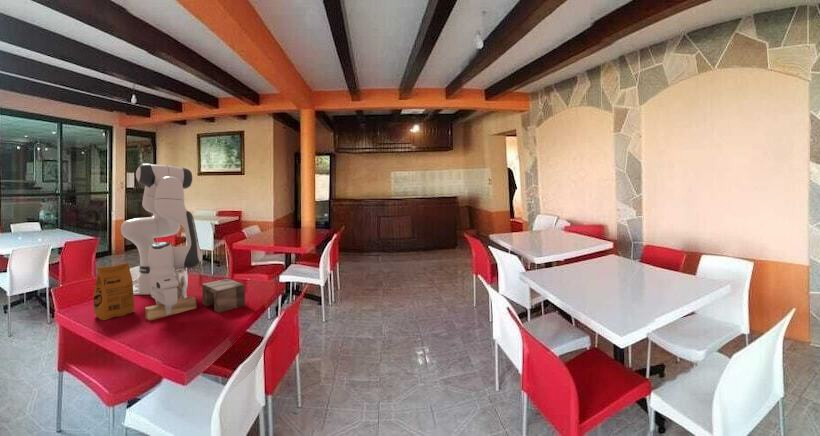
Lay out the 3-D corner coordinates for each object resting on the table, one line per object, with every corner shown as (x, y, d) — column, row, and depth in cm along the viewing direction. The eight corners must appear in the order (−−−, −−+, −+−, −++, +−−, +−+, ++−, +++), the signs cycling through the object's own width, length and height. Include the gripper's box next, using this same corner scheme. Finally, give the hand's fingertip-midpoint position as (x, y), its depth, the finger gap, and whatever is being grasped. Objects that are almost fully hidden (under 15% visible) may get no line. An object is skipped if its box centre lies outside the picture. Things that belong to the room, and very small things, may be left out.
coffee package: (92, 316, 144) (88, 266, 142) (128, 307, 155) (125, 260, 153) (100, 322, 139) (96, 269, 137) (137, 312, 150) (134, 263, 147)
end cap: (202, 304, 161) (202, 283, 160) (228, 297, 171) (228, 278, 170) (218, 312, 152) (217, 290, 151) (245, 305, 161) (244, 284, 160)
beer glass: (180, 304, 161) (178, 273, 159) (167, 302, 162) (166, 272, 161) (192, 299, 168) (190, 269, 166) (180, 298, 169) (178, 268, 167)
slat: (145, 318, 144) (145, 307, 143) (192, 306, 159) (191, 296, 158) (149, 321, 142) (148, 309, 141) (196, 308, 157) (195, 298, 156)
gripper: (145, 277, 150) (147, 307, 151) (162, 286, 138) (163, 319, 139) (162, 274, 155) (163, 303, 156) (179, 283, 143) (181, 314, 144)
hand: (163, 311), depth 148 cm, fingers open, 8 cm apart
